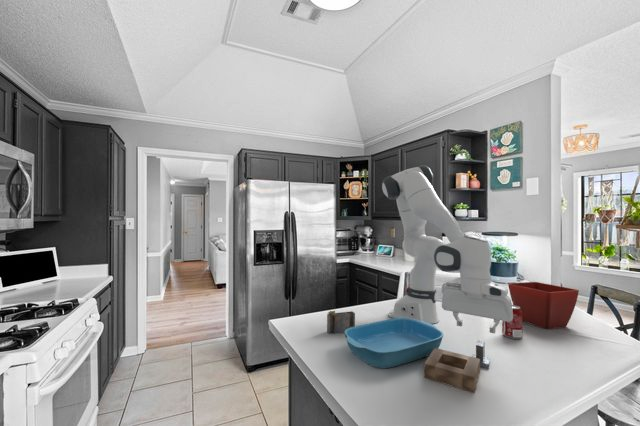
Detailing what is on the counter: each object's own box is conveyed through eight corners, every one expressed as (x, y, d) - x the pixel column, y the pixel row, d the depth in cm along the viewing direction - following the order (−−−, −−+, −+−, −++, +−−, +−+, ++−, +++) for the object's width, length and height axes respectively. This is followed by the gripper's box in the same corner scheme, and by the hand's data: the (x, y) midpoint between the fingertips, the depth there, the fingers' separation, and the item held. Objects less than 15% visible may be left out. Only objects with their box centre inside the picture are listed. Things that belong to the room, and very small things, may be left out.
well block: (424, 377, 84) (424, 363, 84) (434, 360, 94) (434, 347, 95) (474, 393, 76) (474, 377, 77) (480, 372, 87) (480, 358, 87)
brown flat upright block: (329, 335, 115) (330, 310, 115) (327, 332, 118) (327, 308, 118) (355, 332, 119) (355, 308, 119) (352, 329, 122) (352, 306, 122)
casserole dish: (372, 380, 82) (373, 355, 82) (331, 349, 102) (332, 329, 102) (456, 353, 100) (456, 332, 100) (407, 332, 120) (407, 314, 120)
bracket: (470, 364, 92) (470, 343, 92) (472, 358, 96) (472, 338, 96) (488, 369, 89) (488, 347, 89) (490, 362, 93) (489, 342, 94)
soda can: (525, 340, 111) (525, 309, 112) (506, 339, 113) (506, 308, 113) (517, 334, 118) (517, 304, 118) (499, 332, 119) (499, 303, 120)
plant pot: (535, 315, 143) (535, 281, 144) (580, 328, 125) (580, 289, 126) (507, 318, 137) (506, 283, 138) (550, 333, 119) (549, 292, 120)
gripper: (439, 283, 97) (439, 324, 97) (511, 292, 85) (512, 340, 84) (443, 280, 102) (443, 319, 102) (513, 288, 90) (513, 333, 89)
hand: (475, 329), depth 93 cm, fingers open, 8 cm apart
